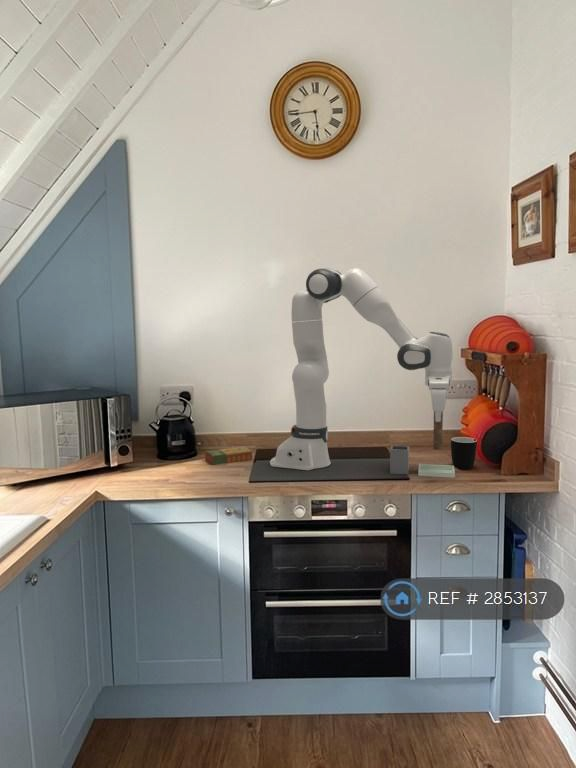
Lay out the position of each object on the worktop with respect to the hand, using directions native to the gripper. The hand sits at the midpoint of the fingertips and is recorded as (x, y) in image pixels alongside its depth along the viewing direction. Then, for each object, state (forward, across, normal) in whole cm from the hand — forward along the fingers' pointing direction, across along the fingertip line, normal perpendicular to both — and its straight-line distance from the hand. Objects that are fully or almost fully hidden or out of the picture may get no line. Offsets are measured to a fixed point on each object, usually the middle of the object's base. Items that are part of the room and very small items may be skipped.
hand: (437, 420), depth 205 cm
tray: (+19, 0, 0) cm, 19 cm away
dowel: (+10, 0, 0) cm, 10 cm away
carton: (+19, -4, -77) cm, 80 cm away
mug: (+19, -13, +9) cm, 25 cm away
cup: (+19, +1, -13) cm, 23 cm away
